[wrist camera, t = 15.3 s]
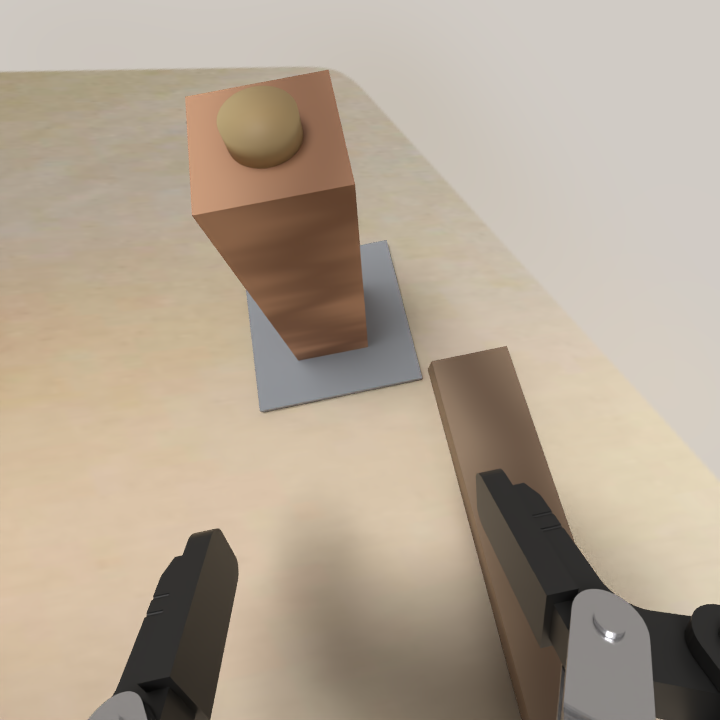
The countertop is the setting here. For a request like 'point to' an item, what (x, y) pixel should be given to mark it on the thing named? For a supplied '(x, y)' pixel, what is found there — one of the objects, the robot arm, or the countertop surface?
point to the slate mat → (346, 369)
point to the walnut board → (521, 465)
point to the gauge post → (282, 206)
